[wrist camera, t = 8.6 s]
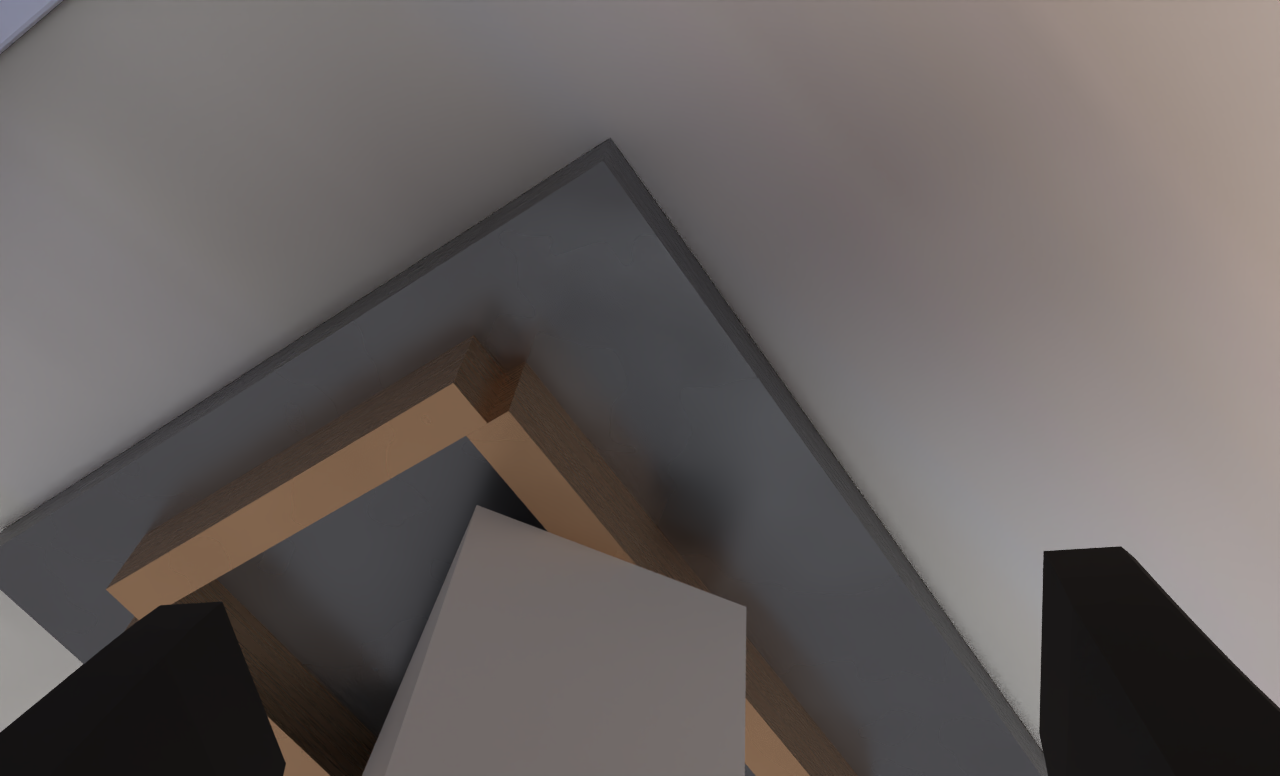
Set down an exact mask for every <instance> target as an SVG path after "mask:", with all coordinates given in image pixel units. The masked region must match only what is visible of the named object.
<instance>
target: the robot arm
mask: <svg viewBox="0 0 1280 776" xmlns="http://www.w3.org/2000/svg"><path fill="white" fill-rule="evenodd" d="M62 1H63V0H0V54H1V53H2V52H3V51H4V50H6V49H7V48H8V47H9V46H10V45H11V44H13V43H14V42H15V41H16V40H17V39H18V38H20V37H21V36H22V35H23V34H24V33H25V32H27V31H28V30H29V29H30V28H31V27H33V26H34V25H35V24H36V23H37V22H38V21H40V20H41V19H42V18H43V17H44V16H45V15H47V14H48V13H49V12H50V11H51V10H52V9H54V8H55V7H56V6H57V5H58V4H60V3H61V2H62ZM1039 733H1040V738H1041V743H1042V748H1043V753H1044V758H1045V763H1046V768H1047V773H1048V776H1280V708H1279V707H1278V706H1277V705H1276V704H1275V703H1274V702H1273V701H1272V700H1271V699H1269V698H1268V697H1267V696H1266V695H1265V694H1264V693H1263V692H1262V691H1261V690H1260V689H1259V688H1258V687H1257V686H1256V685H1255V684H1254V683H1253V682H1252V681H1251V680H1250V679H1249V678H1248V677H1247V676H1246V675H1245V674H1244V673H1243V672H1242V671H1241V670H1240V669H1239V668H1238V667H1237V666H1236V665H1235V664H1234V663H1233V662H1232V661H1231V660H1230V659H1229V658H1228V657H1227V656H1226V655H1225V654H1224V653H1223V652H1222V651H1221V650H1220V649H1219V648H1218V647H1217V646H1216V645H1215V644H1214V643H1213V642H1212V641H1211V640H1210V639H1209V638H1208V636H1207V635H1206V634H1205V633H1204V632H1203V631H1202V630H1201V629H1200V628H1199V627H1198V626H1197V625H1196V624H1195V623H1194V622H1193V621H1192V620H1191V619H1190V618H1189V617H1188V616H1187V614H1186V613H1185V612H1184V611H1183V610H1182V609H1181V608H1180V607H1179V606H1178V605H1177V604H1176V603H1175V602H1174V601H1173V599H1172V598H1171V597H1170V596H1169V595H1168V594H1167V593H1166V592H1165V591H1164V590H1163V589H1162V588H1161V586H1160V585H1159V584H1158V583H1157V582H1156V581H1155V580H1154V579H1153V578H1152V577H1151V576H1150V574H1149V573H1148V572H1147V571H1146V570H1145V569H1144V568H1143V567H1142V566H1141V565H1140V563H1139V562H1138V561H1137V560H1136V559H1135V558H1134V557H1133V556H1132V555H1131V554H1129V553H1128V552H1127V551H1126V550H1125V549H1123V548H1122V547H1105V548H1089V549H1072V550H1056V551H1044V561H1043V604H1042V647H1041V689H1040V732H1039ZM285 766H286V762H285V760H284V757H283V755H282V752H281V750H280V747H279V745H278V742H277V739H276V737H275V734H274V732H273V729H272V727H271V724H270V722H269V719H268V717H267V714H266V711H265V709H264V706H263V704H262V701H261V699H260V696H259V694H258V691H257V689H256V686H255V683H254V681H253V678H252V676H251V673H250V671H249V668H248V666H247V663H246V661H245V658H244V655H243V653H242V650H241V648H240V645H239V643H238V640H237V638H236V635H235V632H234V630H233V627H232V625H231V622H230V620H229V617H228V615H227V612H226V610H225V607H224V604H223V602H206V603H190V604H173V605H160V606H158V607H157V608H156V609H154V610H153V611H151V612H150V613H149V614H147V615H146V616H144V617H143V618H142V619H140V620H139V621H137V622H136V623H135V624H134V625H132V626H131V627H130V628H128V629H127V630H126V631H124V632H123V633H122V634H121V635H119V636H118V637H117V638H115V639H114V640H113V641H112V642H110V643H109V644H108V645H107V646H105V647H104V648H103V649H102V650H100V651H99V652H98V653H97V654H95V655H94V656H93V657H92V658H91V659H89V660H88V661H87V662H86V663H84V664H83V665H82V666H81V667H80V668H78V669H77V670H76V671H75V672H73V673H72V674H71V675H70V676H69V677H67V678H66V679H65V680H64V681H63V682H61V683H60V684H59V685H58V686H56V687H55V688H54V689H53V690H52V691H50V692H49V693H48V694H47V695H46V696H44V697H43V698H42V699H41V700H40V701H38V702H37V703H36V704H35V705H33V706H32V707H31V708H30V709H29V710H27V711H26V712H25V713H24V714H22V715H21V716H20V717H19V718H17V719H16V720H15V721H14V722H13V723H11V724H10V725H9V726H8V727H6V728H5V729H4V730H3V731H2V732H0V776H283V774H284V770H285Z"/></svg>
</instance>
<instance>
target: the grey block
mask: <svg viewBox="0 0 1280 776" xmlns="http://www.w3.org/2000/svg"><path fill="white" fill-rule="evenodd" d="M745 696H746V607H745V606H742V605H740V604H737V603H735V602H732V601H729V600H727V599H724V598H721V597H719V596H716V595H713V594H711V593H708V592H705V591H703V590H700V589H698V588H695V587H692V586H690V585H687V584H684V583H682V582H679V581H676V580H674V579H671V578H669V577H666V576H663V575H661V574H658V573H655V572H653V571H650V570H647V569H645V568H642V567H639V566H637V565H634V564H632V563H629V562H626V561H624V560H621V559H618V558H616V557H613V556H610V555H608V554H605V553H602V552H600V551H597V550H595V549H592V548H589V547H587V546H584V545H581V544H579V543H576V542H573V541H571V540H568V539H565V538H563V537H560V536H558V535H555V534H552V533H550V532H547V531H544V530H542V529H539V528H536V527H534V526H531V525H529V524H526V523H523V522H521V521H518V520H515V519H513V518H510V517H507V516H505V515H502V514H499V513H497V512H494V511H492V510H489V509H486V508H484V507H481V506H478V505H476V508H475V510H474V513H473V515H472V517H471V520H470V522H469V524H468V527H467V529H466V531H465V534H464V536H463V538H462V541H461V543H460V546H459V548H458V550H457V553H456V555H455V557H454V560H453V562H452V564H451V567H450V569H449V571H448V574H447V576H446V579H445V581H444V583H443V586H442V588H441V590H440V593H439V595H438V597H437V600H436V602H435V604H434V607H433V609H432V612H431V614H430V616H429V619H428V621H427V623H426V626H425V628H424V630H423V633H422V635H421V637H420V640H419V642H418V645H417V647H416V649H415V652H414V654H413V656H412V659H411V661H410V663H409V666H408V668H407V670H406V673H405V675H404V677H403V680H402V682H401V685H400V687H399V689H398V692H397V694H396V696H395V699H394V701H393V703H392V706H391V708H390V710H389V713H388V715H387V718H386V720H385V722H384V725H383V727H382V729H381V732H380V734H379V736H378V739H377V741H376V743H375V746H374V748H373V751H372V753H371V755H370V758H369V760H368V762H367V765H366V767H365V769H364V772H363V774H362V776H745Z"/></svg>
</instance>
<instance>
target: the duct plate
mask: <svg viewBox="0 0 1280 776" xmlns="http://www.w3.org/2000/svg"><path fill="white" fill-rule="evenodd" d="M476 505H478V506H481V507H484V508H486V509H489V510H492V511H494V512H497V513H499V514H502V515H505V516H507V517H510V518H513V519H515V520H518V521H521V522H523V523H526V524H529V525H531V526H534V527H536V528H539V529H542V530H544V531H547V532H550V533H552V534H555V535H558V536H560V537H563V538H565V539H568V540H571V541H573V542H576V543H579V544H581V545H584V546H587V547H589V548H592V549H595V550H597V551H600V552H602V553H605V554H608V555H610V556H613V557H616V558H618V559H621V560H624V561H626V562H629V563H632V564H634V565H637V566H639V567H642V568H645V569H647V570H650V571H653V572H655V573H658V574H661V575H663V576H666V577H669V578H671V579H674V580H676V581H679V582H682V583H684V584H687V585H690V586H692V587H695V588H698V589H700V590H703V591H705V592H708V593H711V594H713V595H716V596H719V597H721V598H724V599H727V600H729V601H732V602H735V603H737V604H740V605H742V606H745V607H746V696H745V776H1048V773H1047V768H1046V763H1045V758H1044V753H1043V752H1042V751H1041V749H1040V748H1039V746H1038V745H1037V744H1036V742H1035V741H1034V739H1033V738H1032V736H1031V735H1030V734H1029V732H1028V731H1027V729H1026V728H1025V726H1024V725H1023V724H1022V722H1021V721H1020V719H1019V718H1018V717H1017V715H1016V714H1015V712H1014V711H1013V709H1012V708H1011V707H1010V705H1009V704H1008V702H1007V701H1006V699H1005V698H1004V697H1003V695H1002V694H1001V692H1000V691H999V690H998V688H997V687H996V685H995V684H994V682H993V681H992V680H991V678H990V677H989V675H988V674H987V672H986V671H985V670H984V668H983V667H982V665H981V664H980V663H979V661H978V660H977V658H976V657H975V655H974V654H973V653H972V651H971V650H970V648H969V647H968V645H967V644H966V643H965V641H964V640H963V638H962V637H961V636H960V634H959V633H958V631H957V630H956V628H955V627H954V626H953V624H952V623H951V621H950V620H949V618H948V617H947V616H946V614H945V613H944V611H943V610H942V609H941V607H940V606H939V604H938V603H937V601H936V600H935V599H934V597H933V596H932V594H931V593H930V591H929V590H928V589H927V587H926V586H925V584H924V583H923V582H922V580H921V579H920V577H919V576H918V574H917V573H916V572H915V570H914V569H913V567H912V566H911V564H910V563H909V562H908V560H907V559H906V557H905V556H904V555H903V553H902V552H901V550H900V549H899V547H898V546H897V545H896V543H895V542H894V540H893V539H892V537H891V536H890V535H889V533H888V532H887V530H886V529H885V528H884V526H883V525H882V523H881V522H880V520H879V519H878V518H877V516H876V515H875V513H874V512H873V510H872V509H871V508H870V506H869V505H868V503H867V502H866V501H865V499H864V498H863V496H862V495H861V493H860V492H859V491H858V489H857V488H856V486H855V485H854V483H853V482H852V481H851V479H850V478H849V476H848V475H847V474H846V472H845V471H844V469H843V468H842V466H841V465H840V464H839V462H838V461H837V459H836V458H835V456H834V455H833V454H832V452H831V451H830V449H829V448H828V447H827V445H826V444H825V442H824V441H823V439H822V438H821V437H820V435H819V434H818V432H817V431H816V429H815V428H814V427H813V425H812V424H811V422H810V421H809V420H808V418H807V417H806V415H805V414H804V412H803V411H802V410H801V408H800V407H799V405H798V404H797V402H796V401H795V400H794V398H793V397H792V395H791V394H790V393H789V391H788V390H787V388H786V387H785V385H784V384H783V383H782V381H781V380H780V378H779V377H778V375H777V374H776V373H775V371H774V370H773V368H772V367H771V366H770V364H769V363H768V361H767V360H766V358H765V357H764V356H763V354H762V353H761V351H760V350H759V348H758V347H757V346H756V344H755V343H754V341H753V340H752V339H751V337H750V336H749V334H748V333H747V331H746V330H745V329H744V327H743V326H742V324H741V323H740V321H739V320H738V319H737V317H736V316H735V314H734V313H733V312H732V310H731V309H730V307H729V306H728V304H727V303H726V302H725V300H724V299H723V297H722V296H721V294H720V293H719V292H718V290H717V289H716V287H715V286H714V285H713V283H712V282H711V280H710V279H709V277H708V276H707V275H706V273H705V272H704V270H703V269H702V267H701V266H700V265H699V263H698V262H697V260H696V259H695V258H694V256H693V255H692V253H691V252H690V250H689V249H688V248H687V246H686V245H685V243H684V242H683V240H682V239H681V238H680V236H679V235H678V233H677V232H676V231H675V229H674V228H673V226H672V225H671V223H670V222H669V221H668V219H667V218H666V216H665V215H664V213H663V212H662V211H661V209H660V208H659V206H658V205H657V204H656V202H655V201H654V199H653V198H652V196H651V195H650V194H649V192H648V191H647V189H646V188H645V186H644V185H643V184H642V182H641V181H640V179H639V178H638V177H637V175H636V174H635V172H634V171H633V169H632V168H631V167H630V165H629V164H628V162H627V161H626V159H625V158H624V157H623V155H622V154H621V152H620V151H619V150H618V148H617V147H616V145H615V144H614V142H613V141H612V140H611V138H610V139H608V140H607V141H605V142H603V143H602V144H600V145H599V146H597V147H596V148H594V149H593V150H591V151H589V152H588V153H586V154H585V155H583V156H582V157H580V158H579V159H577V160H576V161H574V162H572V163H571V164H569V165H568V166H566V167H565V168H563V169H562V170H560V171H559V172H557V173H555V174H554V175H552V176H551V177H549V178H548V179H546V180H545V181H543V182H541V183H540V184H538V185H537V186H535V187H534V188H532V189H531V190H529V191H528V192H526V193H524V194H523V195H521V196H520V197H518V198H517V199H515V200H514V201H512V202H511V203H509V204H507V205H506V206H504V207H503V208H501V209H500V210H498V211H497V212H495V213H494V214H492V215H490V216H489V217H487V218H486V219H484V220H483V221H481V222H480V223H478V224H476V225H475V226H473V227H472V228H470V229H469V230H467V231H466V232H464V233H463V234H461V235H459V236H458V237H456V238H455V239H453V240H452V241H450V242H449V243H447V244H446V245H444V246H442V247H441V248H439V249H438V250H436V251H435V252H433V253H432V254H430V255H428V256H427V257H425V258H424V259H422V260H421V261H419V262H418V263H416V264H415V265H413V266H411V267H410V268H408V269H407V270H405V271H404V272H402V273H401V274H399V275H398V276H396V277H394V278H393V279H391V280H390V281H388V282H387V283H385V284H384V285H382V286H381V287H379V288H377V289H376V290H374V291H373V292H371V293H370V294H368V295H367V296H365V297H363V298H362V299H360V300H359V301H357V302H356V303H354V304H353V305H351V306H350V307H348V308H346V309H345V310H343V311H342V312H340V313H339V314H337V315H336V316H334V317H333V318H331V319H329V320H328V321H326V322H325V323H323V324H322V325H320V326H319V327H317V328H315V329H314V330H312V331H311V332H309V333H308V334H306V335H305V336H303V337H302V338H300V339H298V340H297V341H295V342H294V343H292V344H291V345H289V346H288V347H286V348H285V349H283V350H281V351H280V352H278V353H277V354H275V355H274V356H272V357H271V358H269V359H267V360H266V361H264V362H263V363H261V364H260V365H258V366H257V367H255V368H254V369H252V370H250V371H249V372H247V373H246V374H244V375H243V376H241V377H240V378H238V379H237V380H235V381H233V382H232V383H230V384H229V385H227V386H226V387H224V388H223V389H221V390H220V391H218V392H216V393H215V394H213V395H212V396H210V397H209V398H207V399H206V400H204V401H202V402H201V403H199V404H198V405H196V406H195V407H193V408H192V409H190V410H189V411H187V412H185V413H184V414H182V415H181V416H179V417H178V418H176V419H175V420H173V421H172V422H170V423H168V424H167V425H165V426H164V427H162V428H161V429H159V430H158V431H156V432H154V433H153V434H151V435H150V436H148V437H147V438H145V439H144V440H142V441H141V442H139V443H137V444H136V445H134V446H133V447H131V448H130V449H128V450H127V451H125V452H124V453H122V454H120V455H119V456H117V457H116V458H114V459H113V460H111V461H110V462H108V463H107V464H105V465H103V466H102V467H100V468H99V469H97V470H96V471H94V472H93V473H91V474H89V475H88V476H86V477H85V478H83V479H82V480H80V481H79V482H77V483H76V484H74V485H72V486H71V487H69V488H68V489H66V490H65V491H63V492H62V493H60V494H59V495H57V496H55V497H54V498H52V499H51V500H49V501H48V502H46V503H45V504H43V505H41V506H40V507H38V508H37V509H35V510H34V511H32V512H31V513H29V514H28V515H26V516H24V517H23V518H21V519H20V520H18V521H17V522H15V523H14V524H12V525H11V526H9V527H7V528H6V529H4V530H3V531H1V533H0V590H2V591H3V592H4V593H5V594H6V595H7V596H8V597H9V598H11V599H12V600H13V601H14V602H15V603H16V604H17V605H18V606H19V607H21V608H22V609H23V610H24V611H25V612H26V613H27V614H28V615H30V616H31V617H32V618H33V619H34V620H35V621H36V622H37V623H39V624H40V625H41V626H42V627H43V628H44V629H45V630H46V631H47V632H49V633H50V634H51V635H52V636H53V637H54V638H55V639H56V640H58V641H59V642H60V643H61V644H62V645H63V646H64V647H65V648H67V649H68V650H69V651H70V652H71V653H72V654H73V655H74V656H75V657H77V658H78V659H79V660H80V661H81V662H82V663H83V664H84V663H86V662H87V661H88V660H89V659H91V658H92V657H93V656H94V655H95V654H97V653H98V652H99V651H100V650H102V649H103V648H104V647H105V646H107V645H108V644H109V643H110V642H112V641H113V640H114V639H115V638H117V637H118V636H119V635H121V634H122V633H123V632H124V631H126V630H127V629H128V628H130V627H131V626H132V625H134V624H135V623H136V622H137V621H139V620H140V619H142V618H143V617H144V616H146V615H147V614H149V613H150V612H151V611H153V610H154V609H156V608H157V607H158V606H160V605H173V604H190V603H206V602H223V604H224V607H225V610H226V612H227V615H228V617H229V620H230V622H231V625H232V627H233V630H234V632H235V635H236V638H237V640H238V643H239V645H240V648H241V650H242V653H243V655H244V658H245V661H246V663H247V666H248V668H249V671H250V673H251V676H252V678H253V681H254V683H255V686H256V689H257V691H258V694H259V696H260V699H261V701H262V704H263V706H264V709H265V711H266V714H267V717H268V719H269V722H270V724H271V727H272V729H273V732H274V734H275V737H276V739H277V742H278V745H279V747H280V750H281V752H282V755H283V757H284V760H285V762H286V766H285V770H284V774H283V776H362V774H363V772H364V769H365V767H366V765H367V762H368V760H369V758H370V755H371V753H372V751H373V748H374V746H375V743H376V741H377V739H378V736H379V734H380V732H381V729H382V727H383V725H384V722H385V720H386V718H387V715H388V713H389V710H390V708H391V706H392V703H393V701H394V699H395V696H396V694H397V692H398V689H399V687H400V685H401V682H402V680H403V677H404V675H405V673H406V670H407V668H408V666H409V663H410V661H411V659H412V656H413V654H414V652H415V649H416V647H417V645H418V642H419V640H420V637H421V635H422V633H423V630H424V628H425V626H426V623H427V621H428V619H429V616H430V614H431V612H432V609H433V607H434V604H435V602H436V600H437V597H438V595H439V593H440V590H441V588H442V586H443V583H444V581H445V579H446V576H447V574H448V571H449V569H450V567H451V564H452V562H453V560H454V557H455V555H456V553H457V550H458V548H459V546H460V543H461V541H462V538H463V536H464V534H465V531H466V529H467V527H468V524H469V522H470V520H471V517H472V515H473V513H474V510H475V508H476Z"/></svg>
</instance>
